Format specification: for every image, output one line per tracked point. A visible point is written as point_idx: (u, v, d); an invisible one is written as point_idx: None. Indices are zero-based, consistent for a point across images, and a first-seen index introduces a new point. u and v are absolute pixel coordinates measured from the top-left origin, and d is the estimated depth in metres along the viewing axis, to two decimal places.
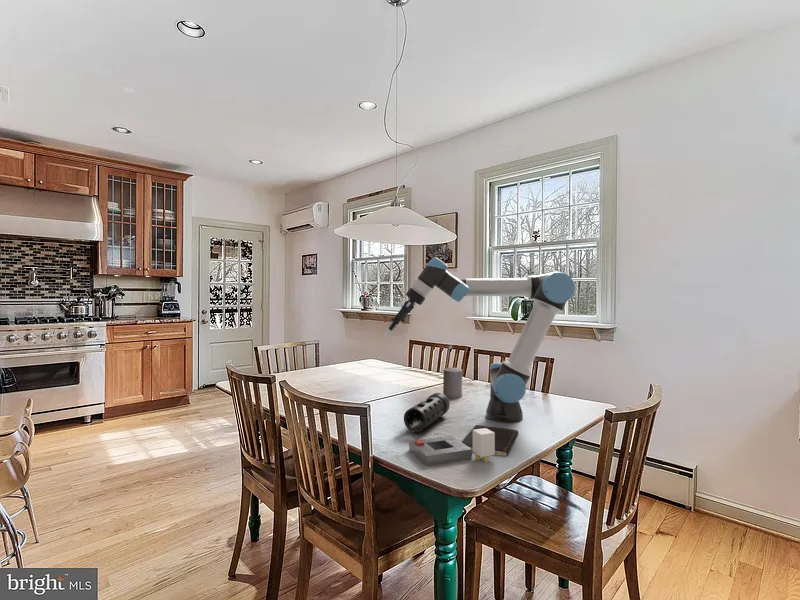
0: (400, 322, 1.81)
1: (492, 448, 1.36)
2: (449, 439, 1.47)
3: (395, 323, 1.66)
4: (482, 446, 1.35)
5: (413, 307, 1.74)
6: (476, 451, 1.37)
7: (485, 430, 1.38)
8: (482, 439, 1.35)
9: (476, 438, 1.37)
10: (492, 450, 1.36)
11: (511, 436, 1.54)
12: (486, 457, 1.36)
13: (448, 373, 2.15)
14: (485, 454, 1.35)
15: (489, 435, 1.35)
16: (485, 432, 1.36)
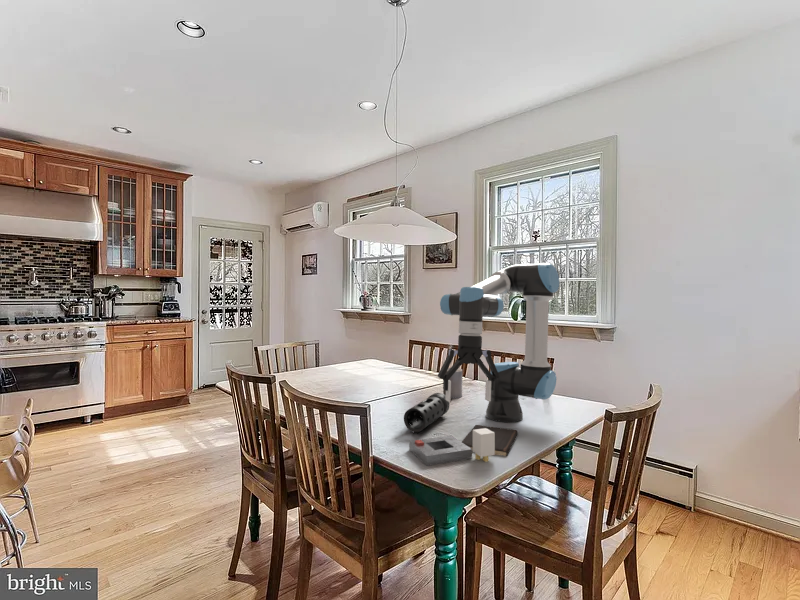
0: None
1: (492, 448, 1.36)
2: (449, 439, 1.47)
3: None
4: (482, 446, 1.35)
5: None
6: (476, 451, 1.37)
7: (485, 430, 1.38)
8: (482, 439, 1.35)
9: (476, 438, 1.37)
10: (492, 450, 1.36)
11: (511, 436, 1.54)
12: (486, 457, 1.36)
13: None
14: (485, 454, 1.35)
15: (489, 435, 1.35)
16: (485, 432, 1.36)
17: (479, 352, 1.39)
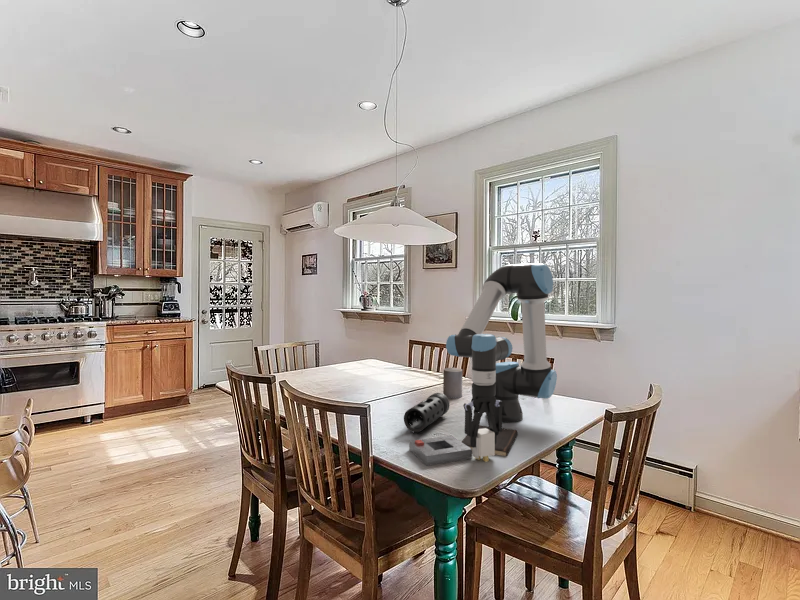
0: None
1: (492, 448, 1.36)
2: (449, 439, 1.47)
3: None
4: (482, 446, 1.35)
5: None
6: None
7: (485, 430, 1.38)
8: (482, 439, 1.35)
9: None
10: (492, 450, 1.36)
11: (511, 436, 1.54)
12: (486, 457, 1.36)
13: (448, 373, 2.15)
14: (485, 454, 1.35)
15: (489, 435, 1.35)
16: (485, 432, 1.36)
17: (493, 400, 1.37)
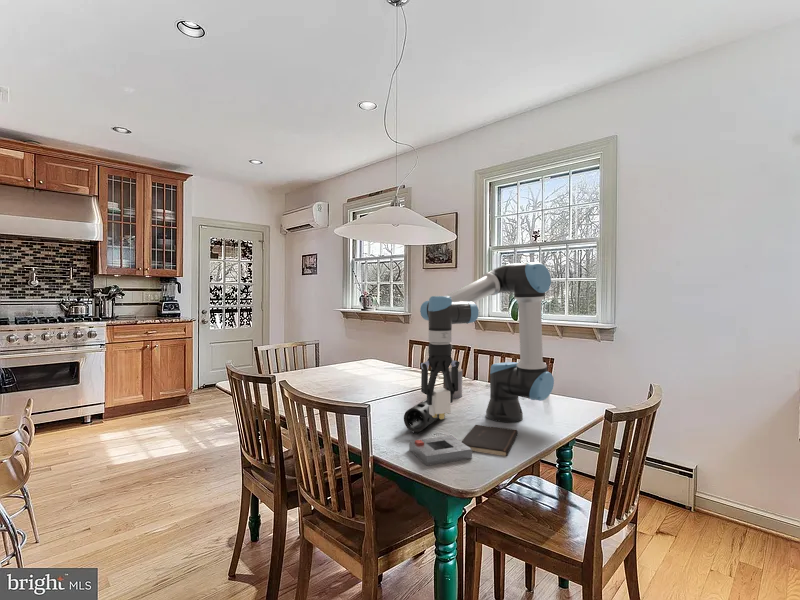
0: None
1: (448, 406, 1.40)
2: (449, 439, 1.47)
3: None
4: (438, 404, 1.39)
5: None
6: None
7: (441, 389, 1.42)
8: (438, 396, 1.39)
9: None
10: (448, 408, 1.40)
11: (510, 436, 1.54)
12: (441, 415, 1.40)
13: None
14: (440, 411, 1.39)
15: (445, 393, 1.39)
16: (441, 390, 1.40)
17: (449, 359, 1.41)
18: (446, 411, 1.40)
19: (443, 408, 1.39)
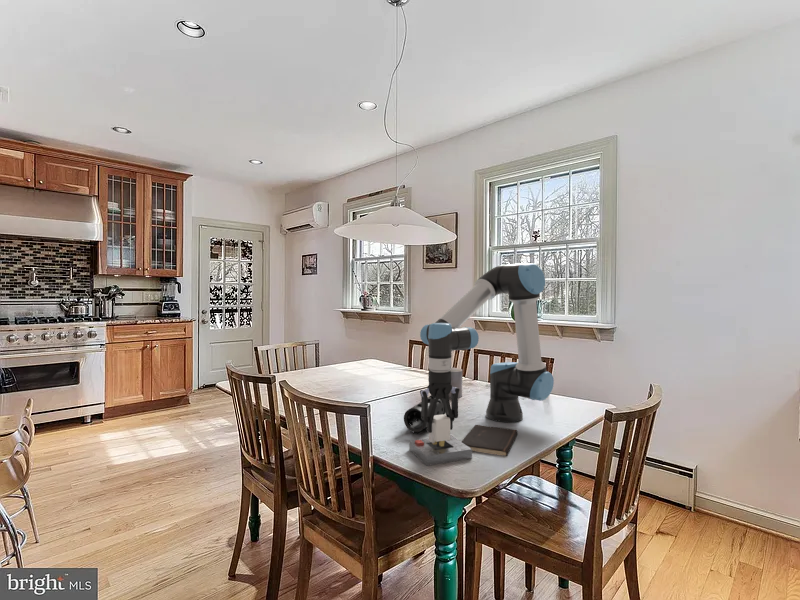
0: None
1: (447, 433, 1.40)
2: None
3: None
4: (438, 431, 1.39)
5: None
6: None
7: (441, 416, 1.42)
8: (438, 424, 1.39)
9: None
10: (447, 435, 1.40)
11: (510, 436, 1.54)
12: (441, 442, 1.40)
13: None
14: (440, 439, 1.39)
15: (445, 421, 1.40)
16: (441, 418, 1.41)
17: (449, 386, 1.42)
18: (446, 438, 1.40)
19: (443, 435, 1.40)
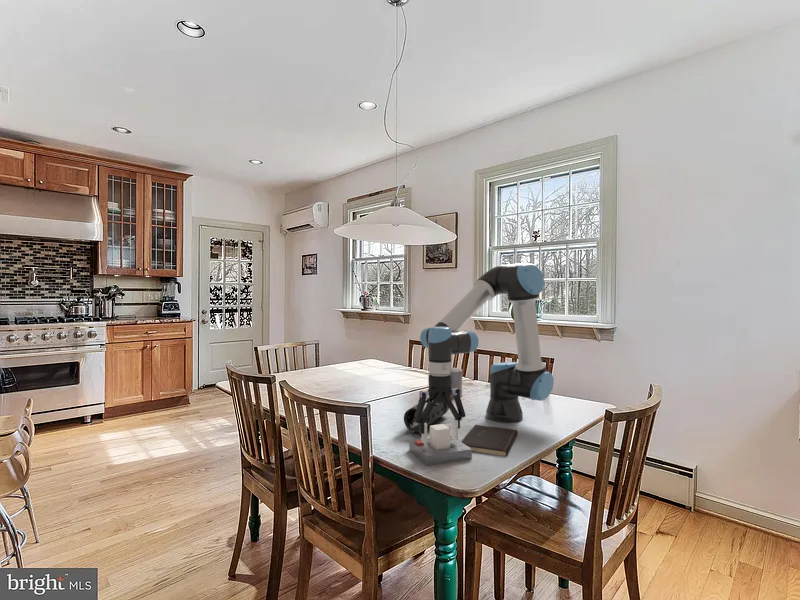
0: None
1: (448, 443, 1.40)
2: None
3: None
4: (438, 442, 1.39)
5: None
6: (432, 446, 1.41)
7: (441, 426, 1.43)
8: (438, 434, 1.39)
9: (432, 434, 1.41)
10: (448, 445, 1.40)
11: (510, 436, 1.54)
12: None
13: None
14: None
15: (445, 431, 1.40)
16: (441, 428, 1.41)
17: (449, 390, 1.42)
18: None
19: (443, 445, 1.40)
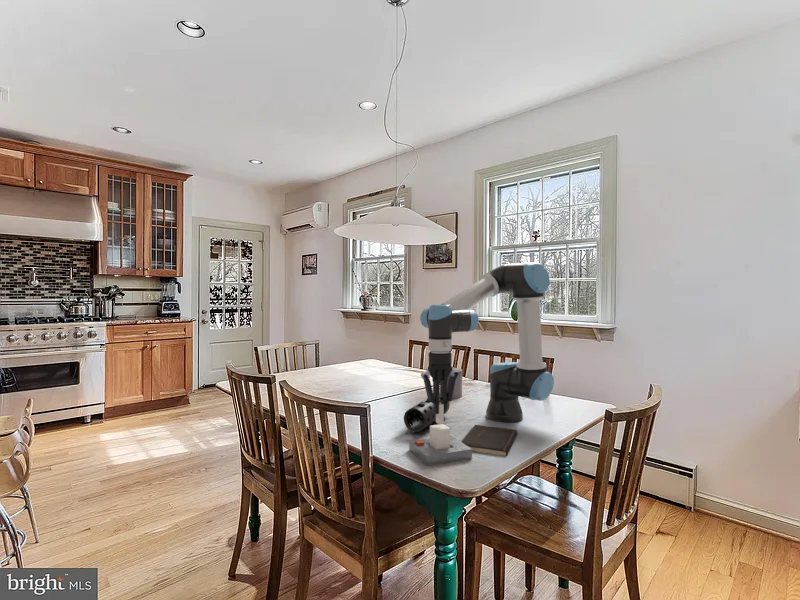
0: None
1: (448, 443, 1.40)
2: None
3: None
4: (438, 442, 1.39)
5: None
6: (432, 446, 1.41)
7: (441, 426, 1.43)
8: (438, 434, 1.39)
9: (432, 434, 1.41)
10: (448, 445, 1.40)
11: (510, 436, 1.54)
12: None
13: None
14: None
15: (445, 431, 1.40)
16: (441, 428, 1.41)
17: (449, 368, 1.42)
18: None
19: (443, 445, 1.40)
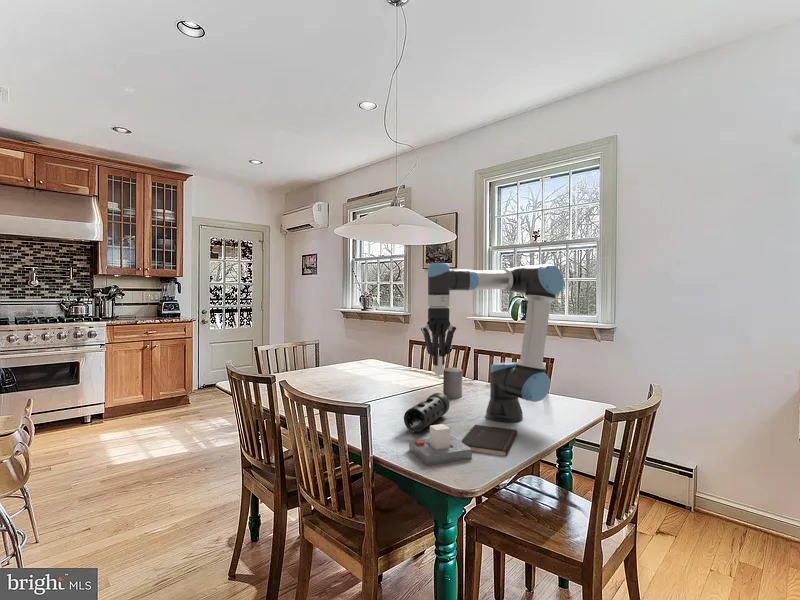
0: None
1: (448, 443, 1.40)
2: None
3: None
4: (438, 442, 1.39)
5: None
6: (432, 446, 1.41)
7: (441, 426, 1.43)
8: (438, 434, 1.39)
9: (432, 434, 1.41)
10: (448, 445, 1.40)
11: (510, 436, 1.54)
12: None
13: (448, 373, 2.15)
14: None
15: (445, 431, 1.40)
16: (441, 428, 1.41)
17: (447, 323, 1.51)
18: None
19: (443, 445, 1.40)
